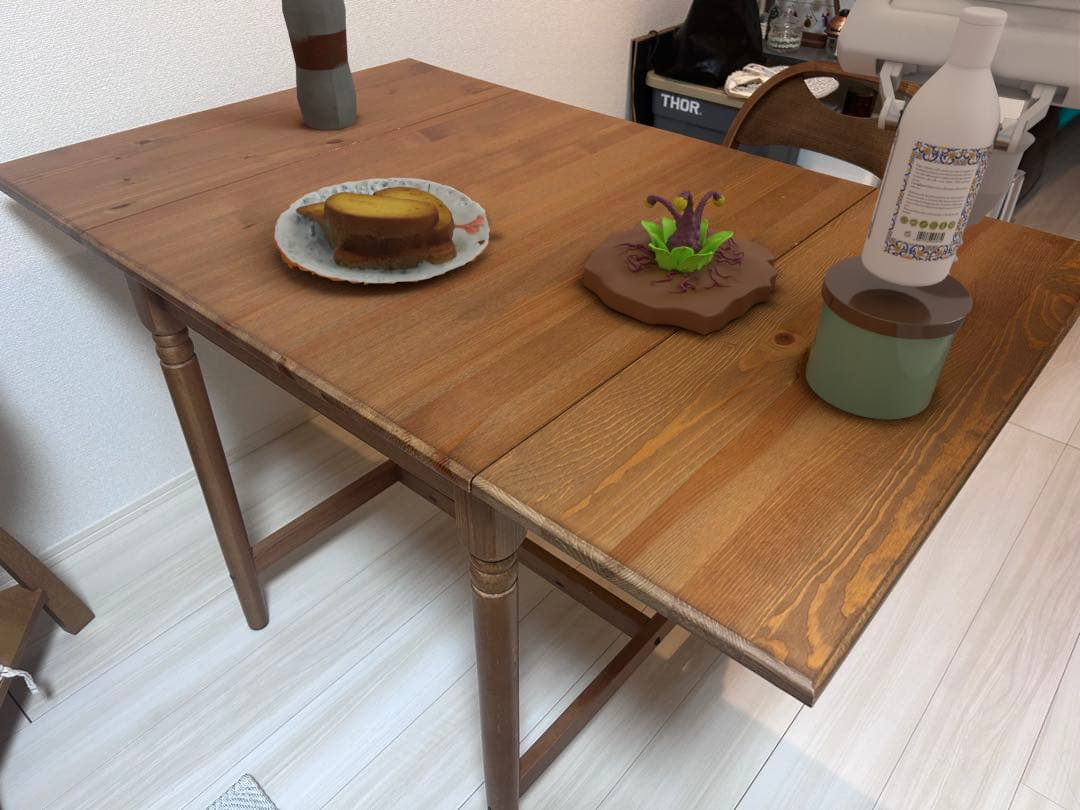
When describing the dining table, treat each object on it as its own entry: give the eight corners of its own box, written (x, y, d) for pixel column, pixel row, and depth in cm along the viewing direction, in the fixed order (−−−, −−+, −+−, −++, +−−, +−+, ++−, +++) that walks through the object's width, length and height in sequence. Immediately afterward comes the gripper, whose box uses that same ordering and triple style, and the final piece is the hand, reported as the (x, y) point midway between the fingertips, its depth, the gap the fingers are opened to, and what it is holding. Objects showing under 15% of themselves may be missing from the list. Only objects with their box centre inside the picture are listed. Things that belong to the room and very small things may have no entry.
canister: (959, 385, 75) (998, 291, 69) (893, 441, 69) (929, 342, 63) (845, 332, 82) (870, 242, 76) (775, 378, 76) (797, 284, 70)
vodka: (300, 113, 133) (264, -101, 115) (357, 110, 135) (330, -102, 117) (301, 133, 126) (263, -92, 108) (361, 129, 128) (333, -93, 110)
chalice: (980, 298, 88) (1045, 133, 77) (956, 322, 84) (1021, 151, 73) (914, 275, 92) (967, 115, 81) (888, 297, 88) (940, 132, 77)
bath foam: (964, 285, 66) (1064, 20, 54) (888, 293, 65) (973, 24, 53) (915, 246, 72) (996, -2, 59) (844, 253, 70) (912, 1, 58)
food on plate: (468, 191, 109) (466, 142, 105) (516, 279, 91) (516, 224, 86) (272, 211, 103) (262, 161, 99) (281, 310, 85) (269, 253, 81)
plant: (553, 291, 88) (555, 193, 81) (639, 227, 101) (648, 138, 94) (723, 351, 79) (742, 247, 72) (794, 272, 92) (816, 177, 85)
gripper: (869, -72, 63) (805, 90, 62) (1179, -45, 55) (1109, 142, 54) (868, -18, 69) (810, 131, 68) (1148, 14, 61) (1085, 184, 60)
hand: (945, 137), depth 61 cm, fingers closed on bath foam, 7 cm apart
